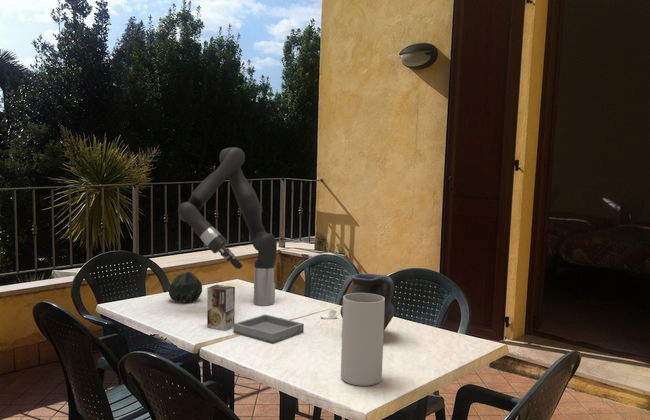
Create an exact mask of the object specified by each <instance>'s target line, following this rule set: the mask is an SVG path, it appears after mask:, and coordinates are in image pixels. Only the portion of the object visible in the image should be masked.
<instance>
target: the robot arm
mask: <svg viewBox="0 0 650 420" xmlns="http://www.w3.org/2000/svg"><path fill="white" fill-rule="evenodd" d="M245 159H246V154H245V152H244V151H243V150H242V149H241V148H239V147H227V148H224V149H222V150H221V152H220V153H219V163H220V165H219V166H218V167H217V168H216V169H215V170H214V171H213V172H211V173H210V174H209V175H208V176H206V177H205V178H204V179H203V180H202V181H201V182H200V183H199V184H198V185H197V187H196V188H195V189H194V190H193V191H192V193H191V195H190V198H188V200H187V201H184V202H182V203H180V204H179V206H178V207H177V208H178V209H177V212H178V217H179V218H180V220H181V221H182V222H185V223H187V224H188V225H189V226H190V227H191V230H192V231H193V232H194V233H195V234H196V235H197V236H198V238H200V240H201V241H202V243H203V244H205V246H206V247H207V248H208V249H209V250H210V251H211V252H212V253H213V254H217V253H220V256H221V257H223V258H224V260H225V261H228V262H229V263H230V264H231V265H232V267H234V268H235V269H236V270H237V269H238V270H240V269H242V268H243V266H244V265H243V263H242V262H240V261H239V259H238V258H237V256H235V254H234V253H233V252H232V250H231V249H230V248H229V247H225V246H226V245H228V240H227V239H226V238H225V236H223V235H222V234H221V233H220V232H219V231H218V229H217V228H215V227H213V225H212V224H211V223H210V222H209V221H208V220H207V219H205V217H204V216H203V215H202V214H201V213H202V212H200V211H201V210H202V208H203V206H204V205H205V204H206V203H207V202H208V201H209V199H210V198H211V197H212V196H213V195H214V193H215V192H216V191H217V190H218V189H219V188H220V186H222V184H223V183H224V182H225V181H227V179H228V181H229V183H230V186H231V189H232V192H233V194H234V197H235V199H236V202H237V206H238V207H239V210H240V212H241V214H242V218H243V220H244V222H245V224H246V227H247V229H248V233H249V237H250V241H251V244H252V246H253V248H254V249H255V251H257V258H256V259H255V261H254V264H253V265H254V266H253V268H254V270H253V271H254V272H253V305H256V306H262V307H263V306H264V307H265V306H272V305H273V304H274V303H276V302H275V301H276V299H275V298H276V283H275V264H276V261H277V250H278V249H277V248H278V247H277V246H278V244H277V238H276V236H275V235H273V234H272V233H268V232H267V231H266V229H265V226H264V224H263V221H262V216H261V213H262V211H261V205H260V201H259V197H258V196H257V193H256V191H255V189H254V188H253V186H252V185H251V183H250V182H249V181H248V179H247V178H246V177H245V175H244V173H243V170H242V168H241V167H242V166H243V164H244V163H245Z"/></svg>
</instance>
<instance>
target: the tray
mask: <svg viewBox="0 0 650 420" xmlns="http://www.w3.org/2000/svg"><path fill="white" fill-rule="evenodd" d="M304 326H305V324H304V322H298V321H294V320H292V319H291V320H289V319H286V318H282V317H277V316H273V315H269V314H262V315H258V316H255V317H252V318H249V319H245V320H241V321H238V322H234V324H233V328H232V329H233V331H232V332H234V333H233V334H236V333H237V334H236V335H239V336H244V337H248V338H250V339H254V340H258V341H262V342H265V343H268V344H272V345H273V344H275V343H276V344H277V343H279V342H282V341H284V340H287V339H290V338H292V337H295V336H297V335H298V336H299V335H301V334H304V331H305V329H304Z"/></svg>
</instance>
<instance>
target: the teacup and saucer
mask: <svg viewBox="0 0 650 420" xmlns="http://www.w3.org/2000/svg"><path fill="white" fill-rule="evenodd" d="M339 314H340V312H339V310H337V309H335V308H330V309H329V310H328V314H323V313H322V314H320V318H321V319H323V320H324V321H329V322H338V321H341V320H342V316H341V317H340V316H339ZM336 318H337V319H336Z"/></svg>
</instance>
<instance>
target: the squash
mask: <svg viewBox="0 0 650 420" xmlns="http://www.w3.org/2000/svg"><path fill="white" fill-rule="evenodd" d="M202 292H203V285H202V282H201V281H200V280H199V278H198V277H197V276H196V275H195V274H193V273H192V272H191V271H186V272H183V273H180V274H178V275H176V276H175V277H174V278H173V280H171V283H170V284H169V287H168V295H169V298H170V299H171V300H172V301H174V302H181V303H182V302H184V303H186V304H189V303H193V302H195V301H197V300H198V299H199V298H200V297H201V295H202Z"/></svg>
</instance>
